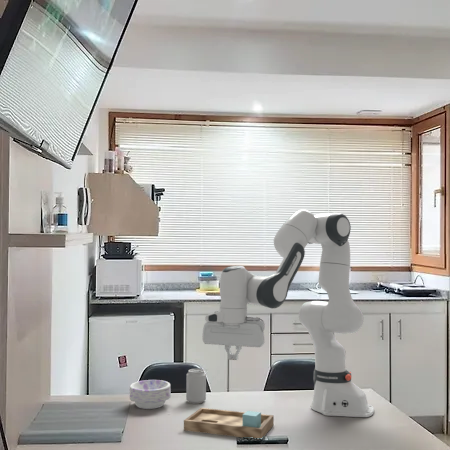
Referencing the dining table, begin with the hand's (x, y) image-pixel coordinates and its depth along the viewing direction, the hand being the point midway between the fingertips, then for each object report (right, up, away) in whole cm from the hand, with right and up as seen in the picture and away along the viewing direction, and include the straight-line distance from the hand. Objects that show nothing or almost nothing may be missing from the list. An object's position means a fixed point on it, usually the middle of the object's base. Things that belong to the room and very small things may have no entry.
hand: (233, 359), depth 180 cm
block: (+6, -21, -3) cm, 22 cm away
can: (-14, -25, +34) cm, 44 cm away
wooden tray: (-1, -23, +4) cm, 24 cm away
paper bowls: (-31, -24, +29) cm, 48 cm away
